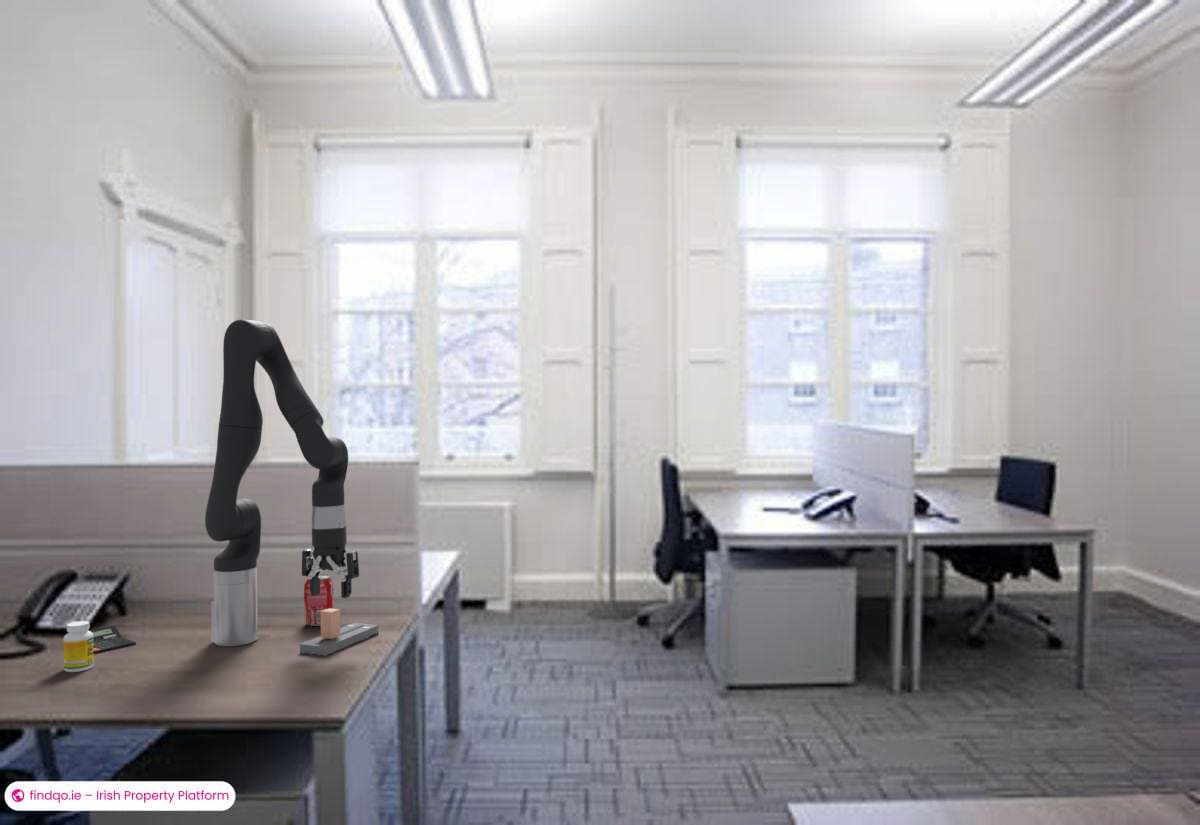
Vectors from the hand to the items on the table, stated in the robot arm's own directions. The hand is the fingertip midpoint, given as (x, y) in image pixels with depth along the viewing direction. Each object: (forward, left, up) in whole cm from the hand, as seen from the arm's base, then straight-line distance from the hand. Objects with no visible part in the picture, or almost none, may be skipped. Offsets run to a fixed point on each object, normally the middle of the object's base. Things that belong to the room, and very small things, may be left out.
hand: (330, 596), depth 188 cm
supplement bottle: (-40, -31, -12) cm, 52 cm away
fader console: (0, +4, -12) cm, 12 cm away
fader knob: (0, 0, -9) cm, 9 cm away
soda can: (-16, +15, -12) cm, 25 cm away
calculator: (-51, -17, -12) cm, 55 cm away
